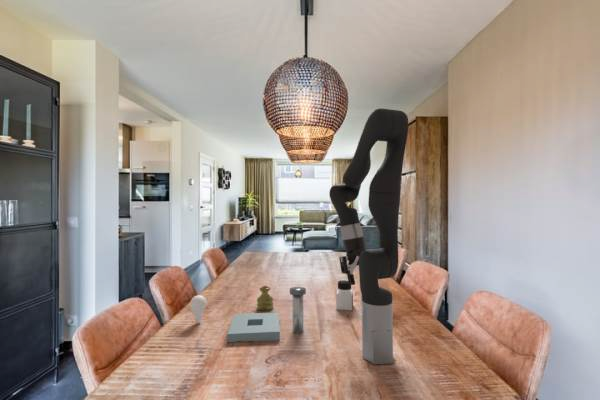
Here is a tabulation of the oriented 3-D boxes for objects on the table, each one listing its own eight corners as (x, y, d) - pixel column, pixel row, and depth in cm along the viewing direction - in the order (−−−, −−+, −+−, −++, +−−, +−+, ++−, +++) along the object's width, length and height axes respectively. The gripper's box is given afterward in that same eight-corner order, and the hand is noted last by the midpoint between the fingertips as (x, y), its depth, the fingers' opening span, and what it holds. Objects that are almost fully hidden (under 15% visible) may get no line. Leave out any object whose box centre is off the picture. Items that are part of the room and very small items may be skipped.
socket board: (279, 340, 104) (279, 331, 104) (227, 342, 102) (227, 334, 102) (278, 319, 122) (278, 312, 122) (234, 321, 120) (234, 314, 120)
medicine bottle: (352, 310, 131) (352, 283, 131) (336, 309, 133) (335, 282, 133) (352, 305, 138) (352, 279, 138) (337, 304, 140) (337, 278, 140)
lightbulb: (201, 318, 123) (200, 292, 123) (209, 322, 119) (209, 295, 119) (187, 323, 119) (187, 296, 119) (195, 327, 115) (195, 299, 115)
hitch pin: (306, 333, 109) (306, 291, 109) (290, 334, 108) (290, 291, 108) (305, 326, 115) (304, 286, 115) (289, 327, 114) (289, 287, 114)
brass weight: (276, 307, 136) (276, 285, 136) (266, 312, 130) (265, 289, 130) (264, 304, 140) (264, 283, 140) (253, 309, 134) (253, 286, 134)
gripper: (343, 239, 102) (353, 287, 100) (374, 232, 109) (384, 277, 107) (331, 241, 109) (340, 286, 107) (361, 234, 116) (370, 276, 114)
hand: (362, 281), depth 107 cm, fingers open, 8 cm apart
